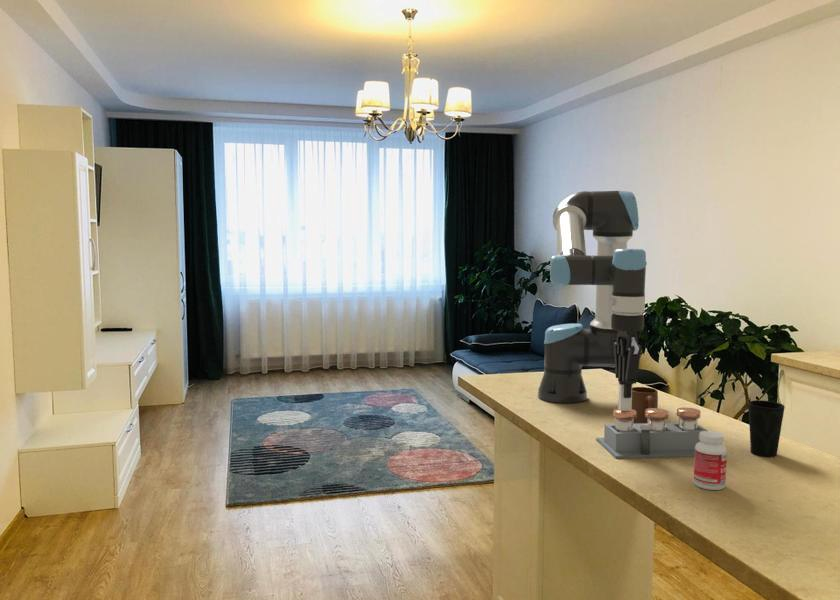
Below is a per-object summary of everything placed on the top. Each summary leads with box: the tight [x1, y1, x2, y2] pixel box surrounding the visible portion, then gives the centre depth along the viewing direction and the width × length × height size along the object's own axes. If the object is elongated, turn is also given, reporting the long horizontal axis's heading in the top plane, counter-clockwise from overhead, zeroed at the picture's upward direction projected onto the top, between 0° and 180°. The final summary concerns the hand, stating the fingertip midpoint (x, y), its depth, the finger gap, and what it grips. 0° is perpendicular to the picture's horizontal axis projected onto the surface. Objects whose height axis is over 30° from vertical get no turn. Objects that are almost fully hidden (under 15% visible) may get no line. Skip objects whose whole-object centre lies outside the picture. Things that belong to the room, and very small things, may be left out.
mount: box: [595, 422, 709, 459], centre depth 168 cm, size 14×25×5 cm, turn 94°
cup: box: [747, 399, 785, 458], centre depth 164 cm, size 8×8×12 cm
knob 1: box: [612, 407, 636, 432], centre depth 168 cm, size 5×5×8 cm
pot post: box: [640, 424, 652, 455], centre depth 162 cm, size 3×3×7 cm
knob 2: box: [676, 406, 702, 430], centre depth 169 cm, size 5×5×8 cm
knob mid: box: [645, 408, 670, 431], centre depth 168 cm, size 5×5×8 cm
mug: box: [632, 386, 659, 424], centre depth 187 cm, size 12×8×9 cm, turn 179°
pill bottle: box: [693, 430, 728, 491], centre depth 143 cm, size 6×6×11 cm
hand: (624, 409), depth 167 cm, fingers closed
